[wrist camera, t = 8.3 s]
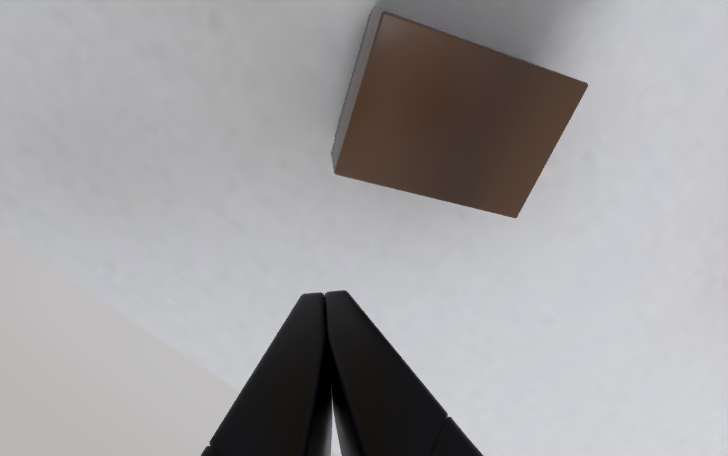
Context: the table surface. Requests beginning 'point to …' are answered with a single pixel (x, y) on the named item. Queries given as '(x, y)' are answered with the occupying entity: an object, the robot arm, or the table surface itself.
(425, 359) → the table surface
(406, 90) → the brown rectangular block
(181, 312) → the table surface
